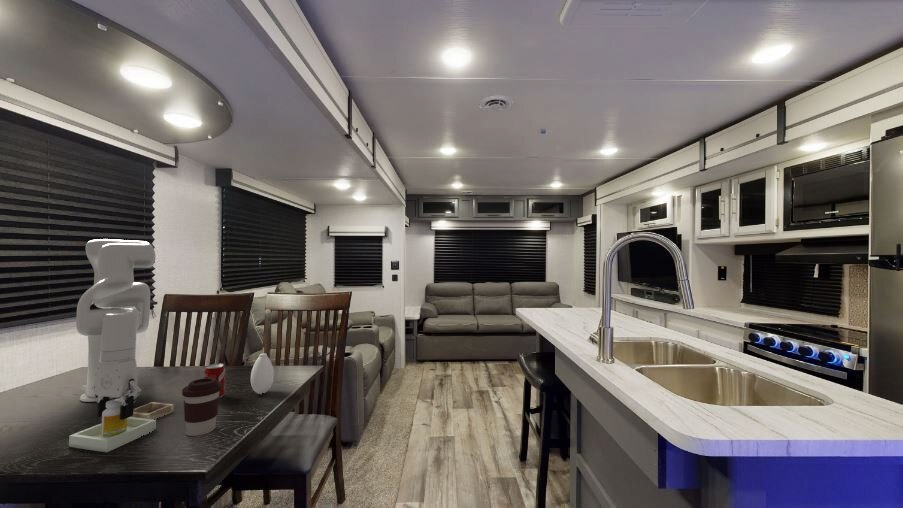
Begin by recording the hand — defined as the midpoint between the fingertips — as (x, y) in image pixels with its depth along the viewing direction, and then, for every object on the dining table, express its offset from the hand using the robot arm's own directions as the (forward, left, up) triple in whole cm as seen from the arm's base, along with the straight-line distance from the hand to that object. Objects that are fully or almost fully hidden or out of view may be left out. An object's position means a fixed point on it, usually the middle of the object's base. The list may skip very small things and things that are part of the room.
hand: (115, 416), depth 102 cm
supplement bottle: (0, 0, -6) cm, 6 cm away
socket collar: (-5, +14, -6) cm, 16 cm away
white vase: (+16, +40, -6) cm, 44 cm away
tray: (0, 0, -6) cm, 6 cm away
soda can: (+2, +32, -6) cm, 33 cm away
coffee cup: (+20, +9, -6) cm, 23 cm away
